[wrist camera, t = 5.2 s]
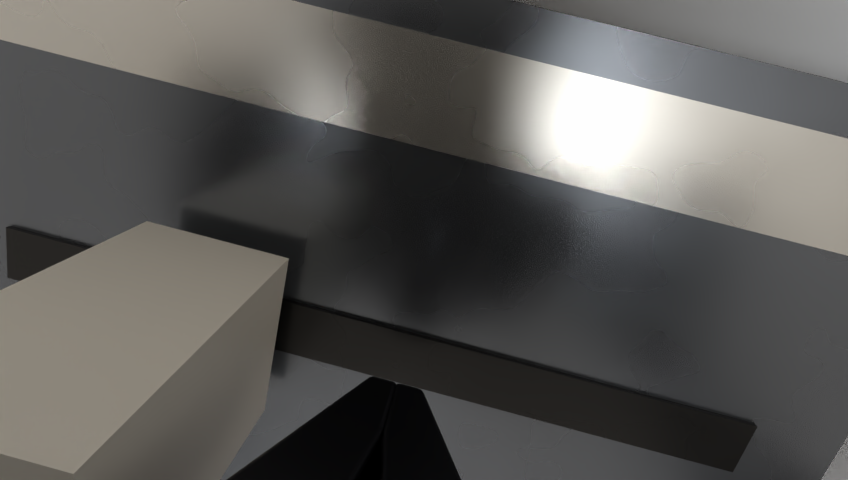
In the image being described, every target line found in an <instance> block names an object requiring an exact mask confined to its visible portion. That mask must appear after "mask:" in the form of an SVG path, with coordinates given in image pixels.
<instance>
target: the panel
mask: <svg viewBox="0 0 848 480" xmlns="http://www.w3.org/2000/svg"><path fill="white" fill-rule="evenodd" d="M146 221H149V222H152V223H156V224H160V225H164V226H168V227H171V228H175V229H179V230H183V231H187V232H190V233H194V234H198V235H202V236H206V237H209V238H213V239H217V240H221V241H225V242H228V243H232V244H236V245H240V246H244V247H247V248H251V249H255V250H259V251H263V252H266V253H270V254H274V255H278V256H282V257H285V258H289V261H288V267H287V274H286V280H285V286H284V292H283V299H282V305H281V311H280V317H279V323H278V330H277V336H276V342H275V348H274V355H273V361H272V367H271V373H270V379H269V386H268V392H267V398H266V404H265V410H264V411H263V413H262V415H261V416H260V418H259V419H258V421H257V422H256V424H255V426H254V427H253V429H252V430H251V432H250V433H249V435H248V437H247V438H246V440H245V441H244V443H243V444H242V446H241V448H240V449H239V451H238V452H237V454H236V455H235V457H234V459H233V460H232V462H231V463H230V465H229V466H228V468H227V470H226V471H225V473H224V474H223V476H222V477H221V479H220V480H226V479H228V478H229V477H231V476H232V475H233V474H235V473H236V472H238V471H239V470H240V469H242V468H243V467H245V466H246V465H247V464H249V463H250V462H252V461H253V460H254V459H256V458H257V457H259V456H260V455H261V454H263V453H264V452H266V451H267V450H268V449H270V448H271V447H273V446H274V445H275V444H277V443H278V442H279V441H281V440H282V439H284V438H285V437H286V436H288V435H289V434H291V433H292V432H293V431H295V430H296V429H298V428H299V427H300V426H302V425H303V424H305V423H306V422H307V421H309V420H310V419H312V418H313V417H314V416H316V415H317V414H319V413H320V412H321V411H323V410H324V409H326V408H327V407H328V406H330V405H331V404H333V403H334V402H335V401H337V400H338V399H340V398H341V397H342V396H344V395H345V394H347V393H348V392H349V391H351V390H352V389H354V388H355V387H356V386H358V385H359V384H361V383H362V382H363V381H365V380H366V379H367V378H369V377H372V376H375V377H378V378H382V379H386V380H389V381H393V382H395V383H396V384H399V383H400V384H404V385H408V386H412V387H415V388H419V389H421V390H422V391H423V392H424V395H425V397H426V399H427V402H428V404H429V406H430V409H431V411H432V413H433V416H434V418H435V420H436V422H437V425H438V427H439V429H440V432H441V434H442V436H443V439H444V441H445V443H446V446H447V448H448V450H449V452H450V455H451V457H452V459H453V462H454V464H455V466H456V469H457V471H458V473H459V476H460V478H461V480H821V478H822V477H823V475H824V473H825V472H826V470H827V468H828V467H829V465H830V463H831V462H832V460H833V459H834V457H835V455H836V454H837V452H838V450H839V449H840V447H841V446H842V444H843V442H844V441H845V439H846V437H847V436H848V83H845V82H841V81H837V80H833V79H829V78H825V77H821V76H817V75H813V74H809V73H805V72H801V71H796V70H792V69H788V68H784V67H780V66H776V65H772V64H768V63H764V62H760V61H756V60H752V59H748V58H744V57H740V56H735V55H731V54H727V53H723V52H719V51H715V50H711V49H707V48H703V47H699V46H695V45H691V44H687V43H683V42H678V41H674V40H670V39H666V38H662V37H658V36H654V35H650V34H646V33H642V32H638V31H634V30H630V29H626V28H622V27H617V26H613V25H609V24H605V23H601V22H597V21H593V20H589V19H585V18H581V17H577V16H573V15H569V14H565V13H561V12H556V11H552V10H548V9H544V8H540V7H536V6H532V5H528V4H524V3H520V2H516V1H512V0H0V290H2V289H4V288H6V287H8V286H11V285H13V284H15V283H17V282H19V281H21V280H23V279H25V278H27V277H30V276H32V275H34V274H36V273H38V272H40V271H42V270H44V269H47V268H49V267H51V266H53V265H55V264H57V263H59V262H61V261H63V260H66V259H68V258H70V257H72V256H74V255H76V254H78V253H80V252H83V251H85V250H87V249H89V248H91V247H93V246H95V245H97V244H100V243H102V242H104V241H106V240H108V239H110V238H112V237H114V236H116V235H119V234H121V233H123V232H125V231H127V230H129V229H131V228H133V227H136V226H138V225H140V224H142V223H144V222H146Z"/></svg>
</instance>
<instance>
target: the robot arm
mask: <svg viewBox="0 0 848 480" xmlns="http://www.w3.org/2000/svg"><path fill="white" fill-rule="evenodd" d="M226 480H461V478H460V476H459V473H458V471H457V469H456V466H455V464H454V462H453V459H452V457H451V455H450V452H449V450H448V448H447V446H446V443H445V441H444V439H443V436H442V434H441V432H440V429H439V427H438V425H437V422H436V420H435V418H434V416H433V413H432V411H431V409H430V406H429V404H428V402H427V399H426V397H425V395H424V392H423V391H422V390H421V389H419V388H415V387H412V386H408V385H404V384H400V383H399V384H396V383H395V382H393V381H389V380H386V379H382V378H378V377H375V376H372V377H369V378H367V379H366V380H365V381H363V382H362V383H361V384H359V385H358V386H356V387H355V388H354V389H352V390H351V391H349V392H348V393H347V394H345V395H344V396H342V397H341V398H340V399H338V400H337V401H335V402H334V403H333V404H331V405H330V406H328V407H327V408H326V409H324V410H323V411H321V412H320V413H319V414H317V415H316V416H314V417H313V418H312V419H310V420H309V421H307V422H306V423H305V424H303V425H302V426H300V427H299V428H298V429H296V430H295V431H293V432H292V433H291V434H289V435H288V436H286V437H285V438H284V439H282V440H281V441H279V442H278V443H277V444H275V445H274V446H273V447H271V448H270V449H268V450H267V451H266V452H264V453H263V454H261V455H260V456H259V457H257V458H256V459H254V460H253V461H252V462H250V463H249V464H247V465H246V466H245V467H243V468H242V469H240V470H239V471H238V472H236V473H235V474H233V475H232V476H231V477H229V478H228V479H226Z"/></svg>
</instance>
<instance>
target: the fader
mask: <svg viewBox="0 0 848 480" xmlns="http://www.w3.org/2000/svg"><path fill="white" fill-rule="evenodd" d="M288 261H289V258H285V257H282V256H278V255H274V254H270V253H266V252H263V251H259V250H255V249H251V248H247V247H244V246H240V245H236V244H232V243H228V242H225V241H221V240H217V239H213V238H209V237H206V236H202V235H198V234H194V233H190V232H187V231H183V230H179V229H175V228H171V227H168V226H164V225H160V224H156V223H152V222H149V221H146V222H144V223H142V224H140V225H138V226H136V227H133V228H131V229H129V230H127V231H125V232H123V233H121V234H119V235H116V236H114V237H112V238H110V239H108V240H106V241H104V242H102V243H100V244H97V245H95V246H93V247H91V248H89V249H87V250H85V251H83V252H80V253H78V254H76V255H74V256H72V257H70V258H68V259H66V260H63V261H61V262H59V263H57V264H55V265H53V266H51V267H49V268H47V269H44V270H42V271H40V272H38V273H36V274H34V275H32V276H30V277H27V278H25V279H23V280H21V281H19V282H17V283H15V284H13V285H11V286H8V287H6V288H4V289H2V290H0V480H220V479H221V477H222V476H223V474H224V473H225V471H226V470H227V468H228V466H229V465H230V463H231V462H232V460H233V459H234V457H235V455H236V454H237V452H238V451H239V449H240V448H241V446H242V444H243V443H244V441H245V440H246V438H247V437H248V435H249V433H250V432H251V430H252V429H253V427H254V426H255V424H256V422H257V421H258V419H259V418H260V416H261V415H262V413H263V411H264V410H265V404H266V398H267V392H268V386H269V379H270V373H271V367H272V361H273V355H274V348H275V342H276V336H277V330H278V323H279V317H280V311H281V305H282V299H283V292H284V286H285V280H286V274H287V267H288Z"/></svg>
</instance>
